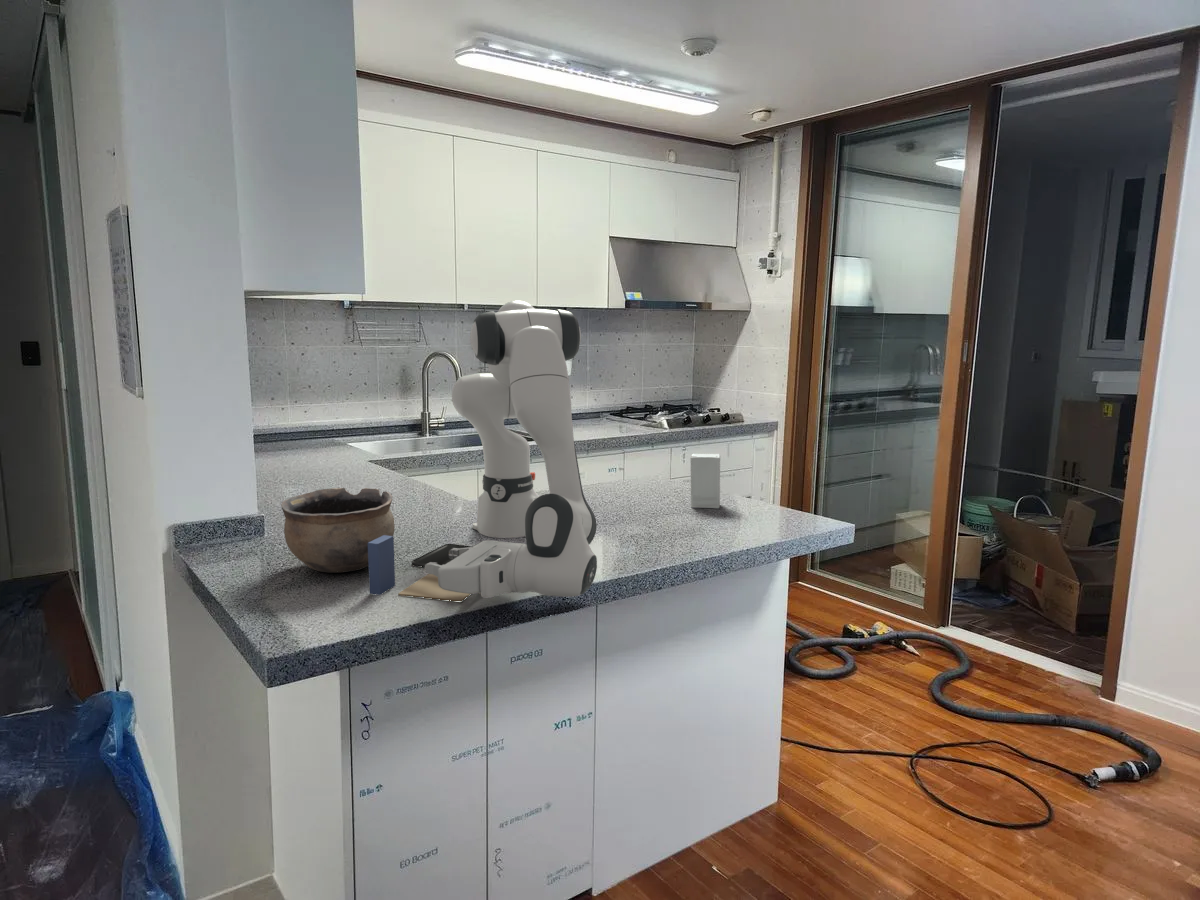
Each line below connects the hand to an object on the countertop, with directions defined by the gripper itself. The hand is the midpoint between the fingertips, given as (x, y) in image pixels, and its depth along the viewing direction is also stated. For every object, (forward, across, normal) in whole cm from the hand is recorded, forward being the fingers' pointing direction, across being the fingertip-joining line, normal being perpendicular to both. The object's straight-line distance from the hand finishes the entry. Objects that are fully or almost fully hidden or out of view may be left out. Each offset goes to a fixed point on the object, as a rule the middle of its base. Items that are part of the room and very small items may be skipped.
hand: (438, 560), depth 143 cm
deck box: (+12, 0, +7) cm, 14 cm away
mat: (+1, -6, +7) cm, 10 cm away
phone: (+10, -22, +7) cm, 26 cm away
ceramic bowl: (+27, -9, +7) cm, 30 cm away
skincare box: (-38, -87, +7) cm, 95 cm away
